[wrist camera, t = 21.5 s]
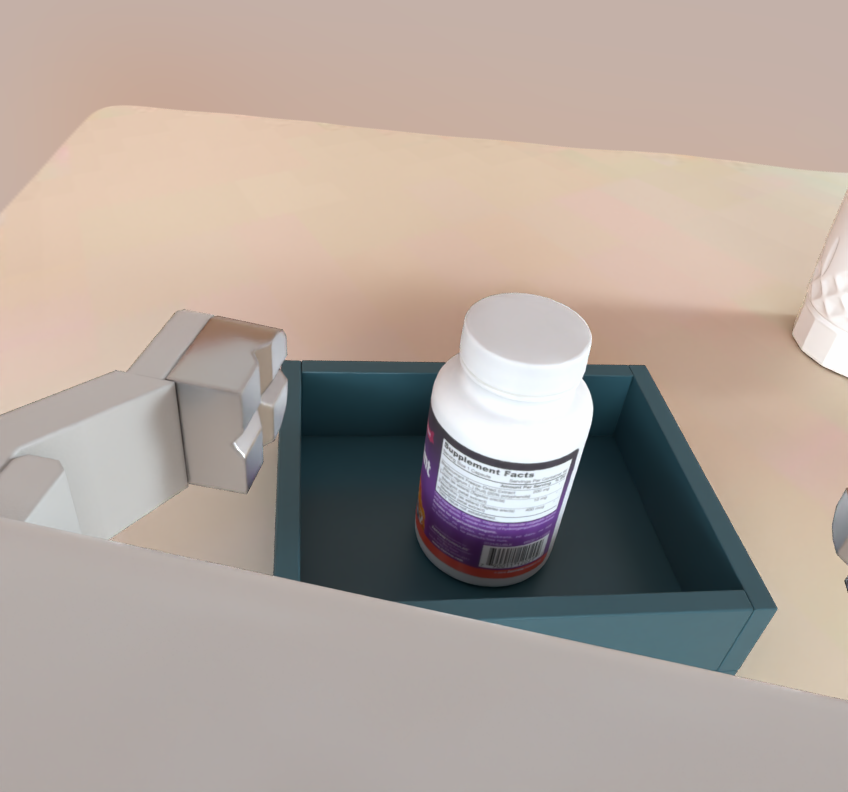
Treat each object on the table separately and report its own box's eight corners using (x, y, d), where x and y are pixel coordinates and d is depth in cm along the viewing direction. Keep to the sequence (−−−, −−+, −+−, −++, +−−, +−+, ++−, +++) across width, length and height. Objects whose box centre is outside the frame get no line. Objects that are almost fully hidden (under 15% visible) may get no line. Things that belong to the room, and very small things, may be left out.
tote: (620, 434, 37) (645, 364, 34) (732, 680, 27) (778, 608, 25) (282, 434, 34) (281, 359, 32) (273, 704, 25) (271, 628, 22)
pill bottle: (447, 466, 33) (482, 263, 27) (569, 516, 31) (635, 313, 25) (387, 553, 29) (412, 339, 23) (522, 616, 28) (587, 403, 21)
